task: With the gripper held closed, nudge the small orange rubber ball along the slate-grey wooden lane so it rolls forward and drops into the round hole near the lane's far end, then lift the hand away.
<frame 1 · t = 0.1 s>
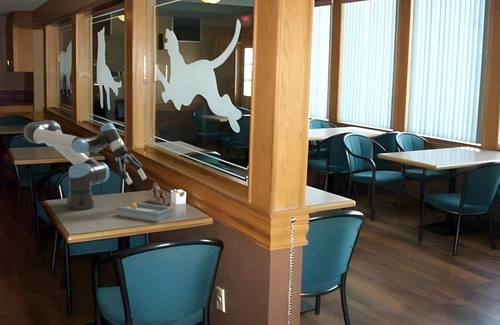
hand: (137, 181, 323), 15 cm above the table, tool tilted 35°, fingers open, 13 cm apart
figurine: (160, 204, 335), on the table
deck: (144, 215, 310), on the table
ball: (133, 206, 312), point 4 cm above the table, touching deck
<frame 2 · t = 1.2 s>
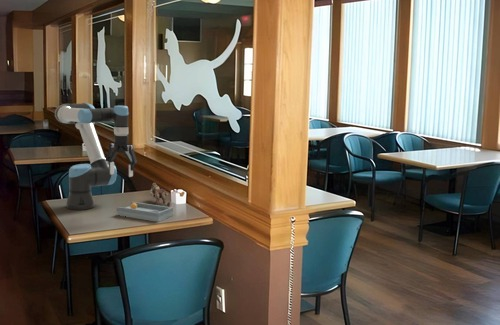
hand: (121, 175, 313), 20 cm above the table, tool pointing down, fingers open, 11 cm apart
nothing on the table moved.
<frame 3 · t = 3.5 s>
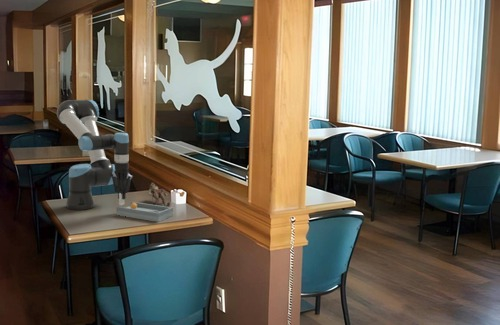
hand: (121, 204, 315), 4 cm above the table, tool pointing down, fingers closed
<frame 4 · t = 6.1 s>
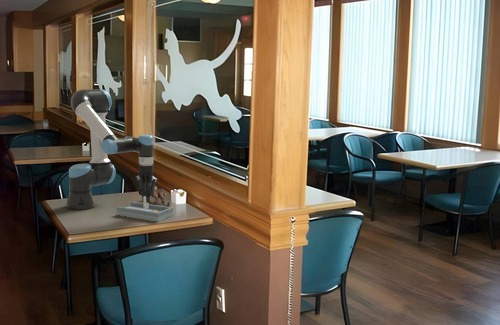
hand: (146, 208, 309), 4 cm above the table, tool pointing down, fingers closed
ball: (155, 214, 308), point 2 cm above the table, tilted 127°
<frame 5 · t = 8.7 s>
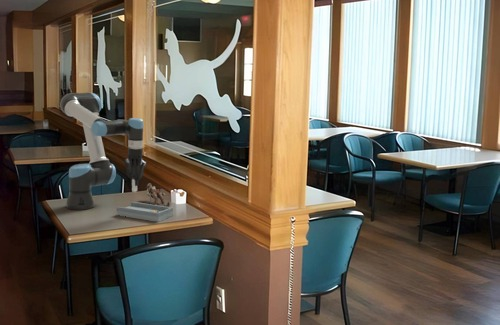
hand: (134, 191, 311), 12 cm above the table, tool pointing down, fingers closed
ball: (153, 213, 308), point 2 cm above the table, tilted 100°
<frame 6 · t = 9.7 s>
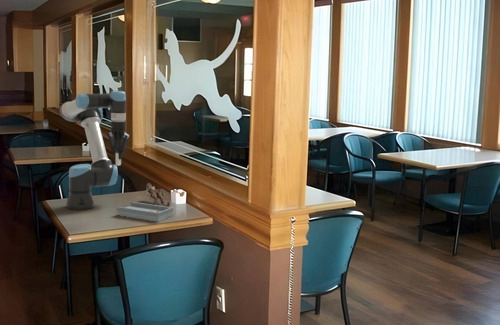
hand: (118, 165, 309), 26 cm above the table, tool pointing down, fingers closed
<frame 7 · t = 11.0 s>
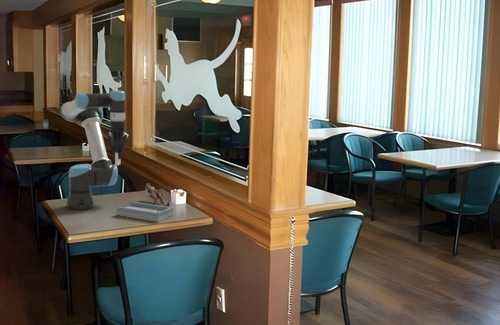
hand: (117, 164, 309), 26 cm above the table, tool pointing down, fingers closed
ball: (154, 213, 308), point 2 cm above the table, tilted 109°
at the end: ball 0.1 cm from the target spot on the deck, point 1.7 cm above the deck's base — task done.
